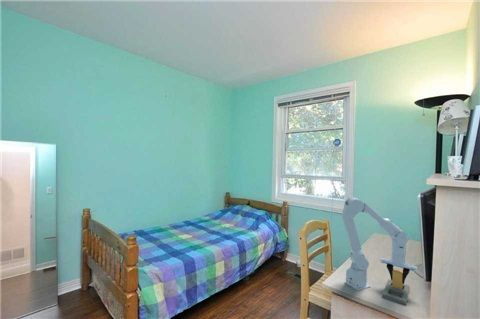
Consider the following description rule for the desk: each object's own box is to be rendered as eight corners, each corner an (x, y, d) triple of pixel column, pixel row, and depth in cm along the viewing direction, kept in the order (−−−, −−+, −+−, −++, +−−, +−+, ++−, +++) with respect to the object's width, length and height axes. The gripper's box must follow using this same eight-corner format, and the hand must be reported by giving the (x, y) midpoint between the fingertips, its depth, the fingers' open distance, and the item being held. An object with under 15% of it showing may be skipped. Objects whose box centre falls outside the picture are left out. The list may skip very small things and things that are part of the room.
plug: (401, 289, 112) (402, 273, 112) (392, 286, 115) (392, 271, 115) (402, 286, 115) (403, 271, 115) (393, 283, 118) (393, 268, 118)
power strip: (406, 305, 102) (406, 301, 102) (382, 296, 107) (382, 293, 107) (409, 288, 115) (409, 285, 115) (388, 282, 121) (388, 279, 121)
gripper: (417, 255, 113) (416, 283, 113) (382, 247, 123) (382, 273, 123) (416, 260, 108) (415, 289, 108) (380, 251, 117) (379, 278, 117)
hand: (397, 281), depth 115 cm, fingers closed on plug, 4 cm apart
